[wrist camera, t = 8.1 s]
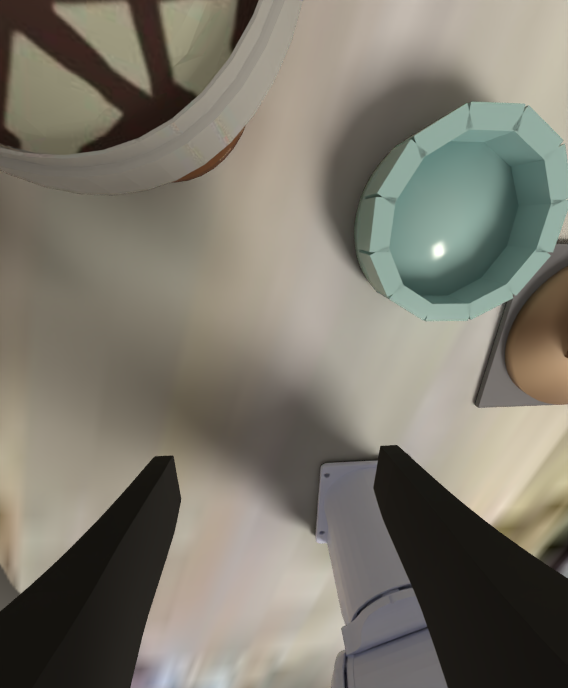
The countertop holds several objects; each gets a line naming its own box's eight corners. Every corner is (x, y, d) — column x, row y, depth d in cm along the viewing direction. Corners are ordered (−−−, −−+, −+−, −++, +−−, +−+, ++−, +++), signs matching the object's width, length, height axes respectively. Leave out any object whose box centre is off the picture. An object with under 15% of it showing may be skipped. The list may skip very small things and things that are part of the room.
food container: (17, 166, 15) (-379, 77, 6) (9, 8, 13) (-665, -561, 3) (254, 234, 17) (247, 249, 8) (282, 108, 15) (318, -80, 5)
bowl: (491, 305, 20) (529, 319, 17) (346, 307, 19) (361, 322, 16) (544, 126, 16) (603, 107, 13) (364, 120, 15) (387, 98, 12)
